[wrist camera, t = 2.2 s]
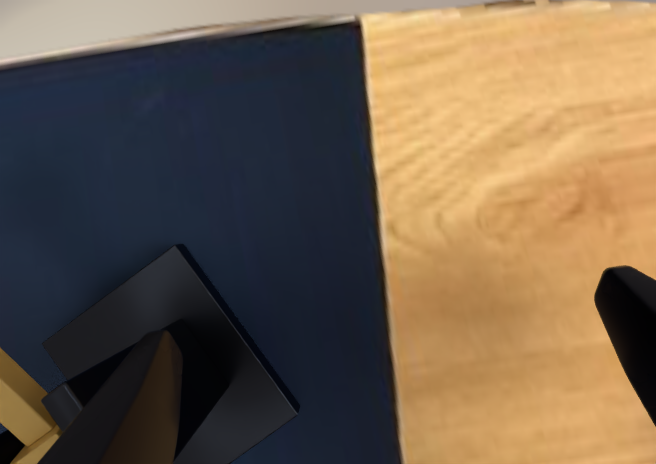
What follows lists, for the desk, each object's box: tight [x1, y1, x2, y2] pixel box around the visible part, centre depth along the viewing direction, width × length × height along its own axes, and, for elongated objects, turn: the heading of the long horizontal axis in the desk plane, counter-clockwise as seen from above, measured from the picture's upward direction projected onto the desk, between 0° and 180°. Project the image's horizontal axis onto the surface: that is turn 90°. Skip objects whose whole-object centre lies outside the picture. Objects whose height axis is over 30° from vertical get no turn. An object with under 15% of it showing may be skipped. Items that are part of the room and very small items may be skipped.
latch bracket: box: [0, 244, 300, 464], centre depth 19 cm, size 11×9×11 cm
